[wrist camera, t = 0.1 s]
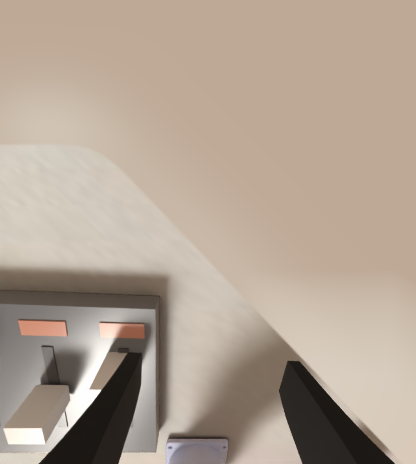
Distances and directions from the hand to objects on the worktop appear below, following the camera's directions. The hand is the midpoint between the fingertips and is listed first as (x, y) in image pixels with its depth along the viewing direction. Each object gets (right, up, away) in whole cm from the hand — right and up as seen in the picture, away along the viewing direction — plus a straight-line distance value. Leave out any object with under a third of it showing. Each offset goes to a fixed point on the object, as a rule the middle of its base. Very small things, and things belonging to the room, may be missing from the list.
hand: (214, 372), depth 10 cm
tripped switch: (-16, -9, +10) cm, 21 cm away
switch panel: (-16, -8, +12) cm, 22 cm away
